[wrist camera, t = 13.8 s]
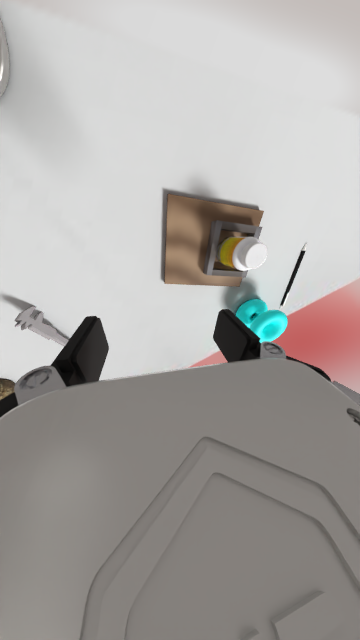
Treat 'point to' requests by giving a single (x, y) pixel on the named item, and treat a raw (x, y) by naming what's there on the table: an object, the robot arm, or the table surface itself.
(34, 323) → the caliper
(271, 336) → the donuts
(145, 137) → the table surface
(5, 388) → the bread roll
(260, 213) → the board
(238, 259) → the supplement bottle
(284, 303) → the pen
